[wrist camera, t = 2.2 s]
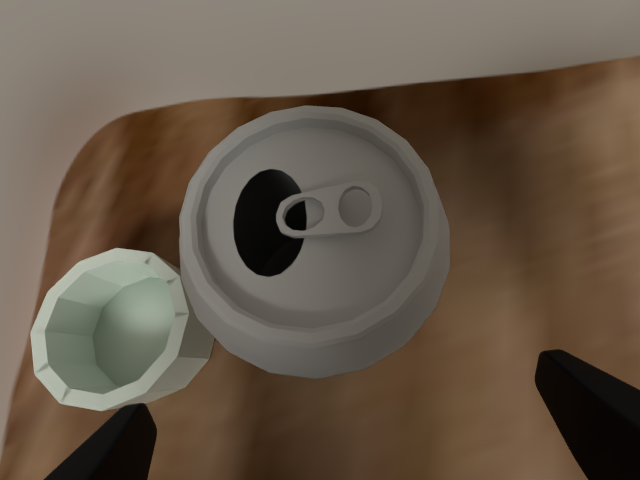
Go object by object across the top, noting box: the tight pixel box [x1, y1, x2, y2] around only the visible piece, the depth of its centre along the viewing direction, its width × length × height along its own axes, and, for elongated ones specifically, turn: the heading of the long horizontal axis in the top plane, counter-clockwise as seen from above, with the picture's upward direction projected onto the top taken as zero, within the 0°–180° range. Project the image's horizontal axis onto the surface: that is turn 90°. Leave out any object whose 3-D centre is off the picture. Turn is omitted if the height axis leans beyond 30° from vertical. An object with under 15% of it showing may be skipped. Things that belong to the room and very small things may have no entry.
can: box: [179, 106, 450, 379], centre depth 14 cm, size 8×8×12 cm
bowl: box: [31, 248, 215, 411], centre depth 17 cm, size 7×7×4 cm
